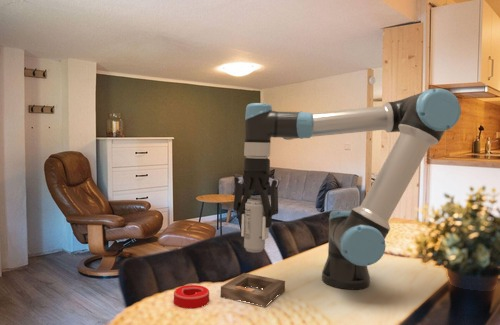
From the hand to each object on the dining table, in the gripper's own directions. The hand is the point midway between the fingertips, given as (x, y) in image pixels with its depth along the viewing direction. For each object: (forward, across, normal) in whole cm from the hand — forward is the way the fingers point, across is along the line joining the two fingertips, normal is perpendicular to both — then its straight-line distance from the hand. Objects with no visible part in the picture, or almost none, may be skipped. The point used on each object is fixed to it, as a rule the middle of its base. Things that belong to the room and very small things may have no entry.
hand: (254, 236), depth 111 cm
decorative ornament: (+17, +12, +13) cm, 25 cm away
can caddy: (+17, 0, 0) cm, 17 cm away
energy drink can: (+4, 0, 0) cm, 4 cm away
